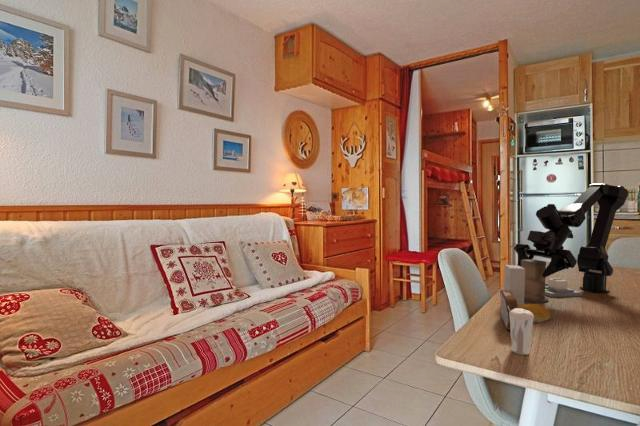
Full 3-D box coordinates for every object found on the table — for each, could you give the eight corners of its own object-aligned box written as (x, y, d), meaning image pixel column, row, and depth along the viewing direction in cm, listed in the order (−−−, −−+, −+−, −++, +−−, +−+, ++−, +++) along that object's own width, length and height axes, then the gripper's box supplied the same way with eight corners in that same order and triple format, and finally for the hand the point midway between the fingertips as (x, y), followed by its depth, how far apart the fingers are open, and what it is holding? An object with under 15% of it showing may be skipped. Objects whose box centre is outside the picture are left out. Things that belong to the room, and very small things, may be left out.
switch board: (557, 288, 135) (557, 282, 135) (582, 296, 124) (582, 290, 124) (527, 289, 133) (527, 283, 133) (550, 297, 123) (550, 291, 123)
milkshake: (500, 348, 80) (501, 302, 79) (523, 347, 80) (524, 302, 80) (512, 357, 75) (514, 308, 75) (537, 356, 76) (539, 308, 75)
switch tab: (557, 288, 130) (558, 276, 130) (567, 290, 126) (567, 279, 126) (547, 288, 129) (548, 277, 129) (556, 291, 125) (556, 279, 125)
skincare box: (524, 308, 109) (525, 268, 109) (509, 307, 110) (510, 268, 110) (517, 303, 115) (518, 265, 115) (503, 302, 116) (504, 264, 115)
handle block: (530, 294, 123) (531, 259, 123) (544, 298, 119) (546, 261, 118) (519, 295, 121) (520, 259, 121) (533, 299, 117) (535, 262, 116)
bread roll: (554, 319, 101) (555, 304, 100) (538, 325, 95) (539, 310, 95) (523, 311, 107) (524, 297, 107) (507, 316, 102) (507, 302, 102)
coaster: (534, 295, 125) (534, 293, 125) (555, 302, 116) (555, 300, 116) (510, 295, 124) (510, 294, 124) (529, 303, 115) (529, 301, 115)
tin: (520, 336, 87) (521, 301, 87) (505, 334, 88) (506, 299, 88) (510, 317, 101) (511, 286, 101) (498, 315, 102) (499, 285, 102)
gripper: (518, 220, 129) (494, 253, 125) (571, 224, 112) (545, 262, 108) (533, 242, 132) (510, 274, 129) (587, 248, 115) (562, 286, 111)
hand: (530, 273), depth 119 cm, fingers open, 9 cm apart
